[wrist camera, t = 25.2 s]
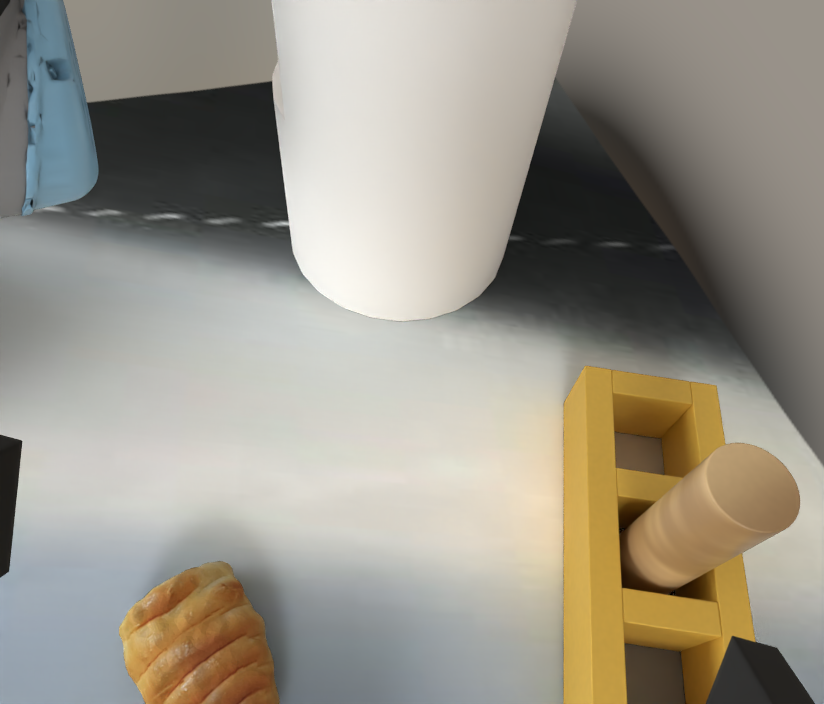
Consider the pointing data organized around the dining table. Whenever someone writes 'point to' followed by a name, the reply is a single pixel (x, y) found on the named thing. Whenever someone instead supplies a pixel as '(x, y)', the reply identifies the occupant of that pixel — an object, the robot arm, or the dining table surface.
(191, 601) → the pastry
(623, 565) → the peg
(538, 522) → the dining table surface
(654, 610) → the yellow peg holder
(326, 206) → the cylinder
